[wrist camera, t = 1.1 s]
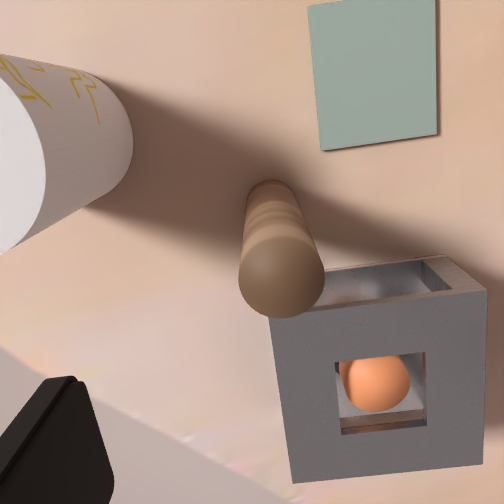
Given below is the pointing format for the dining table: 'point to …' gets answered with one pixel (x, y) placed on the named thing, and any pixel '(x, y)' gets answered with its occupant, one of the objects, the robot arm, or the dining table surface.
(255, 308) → the brown wooden rod
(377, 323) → the guard cage
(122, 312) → the dining table surface
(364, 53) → the mat
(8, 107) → the cup
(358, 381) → the breaker plunger
